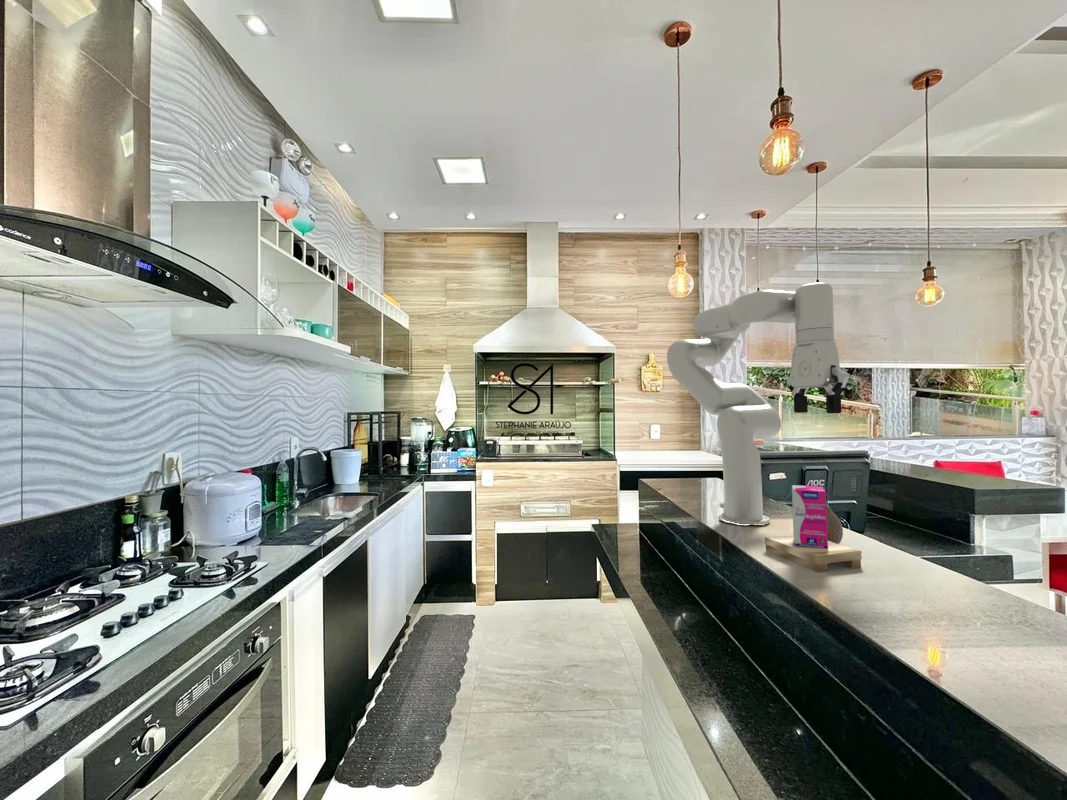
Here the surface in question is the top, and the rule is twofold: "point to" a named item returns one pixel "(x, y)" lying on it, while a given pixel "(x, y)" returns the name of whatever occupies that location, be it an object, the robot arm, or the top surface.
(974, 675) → the top surface
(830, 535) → the vase
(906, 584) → the top surface
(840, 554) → the platform
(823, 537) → the supplement box
